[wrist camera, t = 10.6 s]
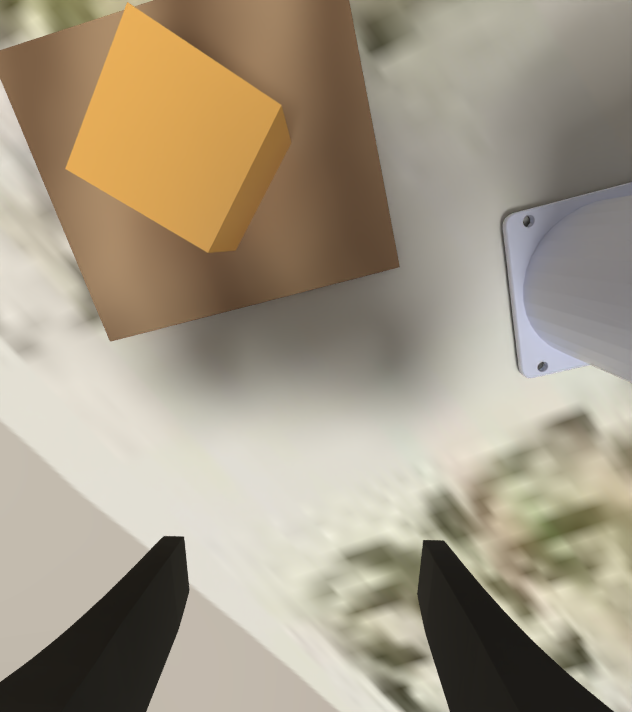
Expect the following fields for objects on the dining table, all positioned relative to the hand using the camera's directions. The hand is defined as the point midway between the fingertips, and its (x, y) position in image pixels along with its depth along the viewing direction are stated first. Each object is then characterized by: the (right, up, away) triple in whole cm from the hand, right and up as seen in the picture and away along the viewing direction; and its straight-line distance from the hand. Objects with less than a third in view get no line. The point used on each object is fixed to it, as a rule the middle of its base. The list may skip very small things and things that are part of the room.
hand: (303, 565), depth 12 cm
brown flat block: (-4, +14, +6) cm, 16 cm away
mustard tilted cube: (-4, +14, +5) cm, 16 cm away
